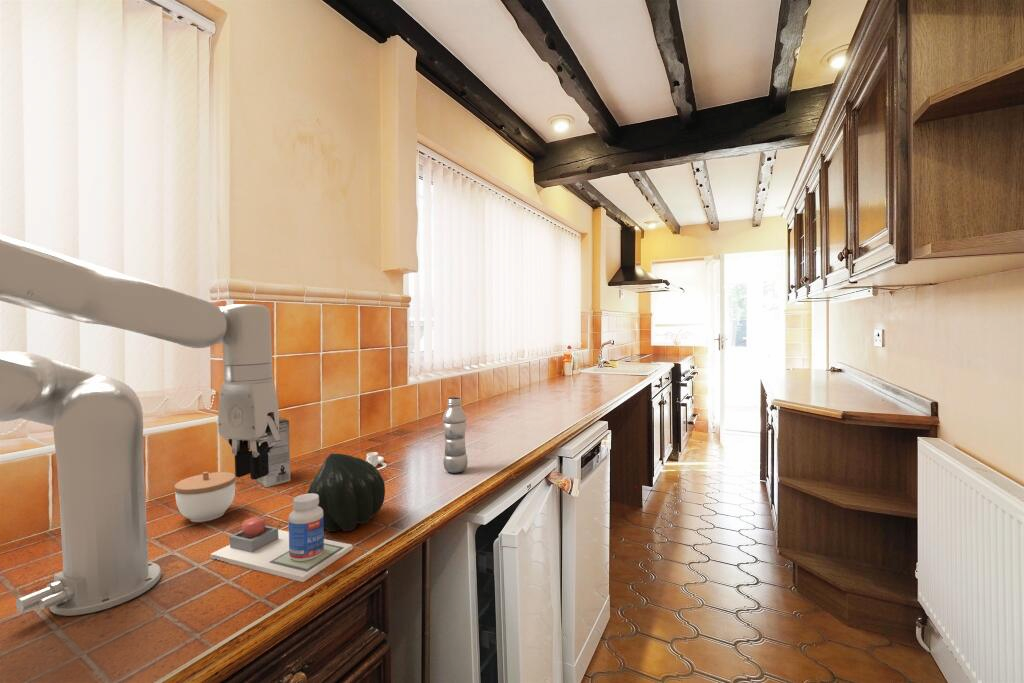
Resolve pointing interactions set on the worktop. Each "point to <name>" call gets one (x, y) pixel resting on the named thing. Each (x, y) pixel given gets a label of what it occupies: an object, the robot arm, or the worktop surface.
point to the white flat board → (277, 554)
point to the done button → (253, 526)
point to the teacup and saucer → (375, 459)
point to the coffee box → (278, 458)
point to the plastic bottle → (454, 436)
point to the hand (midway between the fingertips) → (252, 475)
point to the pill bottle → (306, 528)
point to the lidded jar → (205, 495)
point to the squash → (347, 491)
